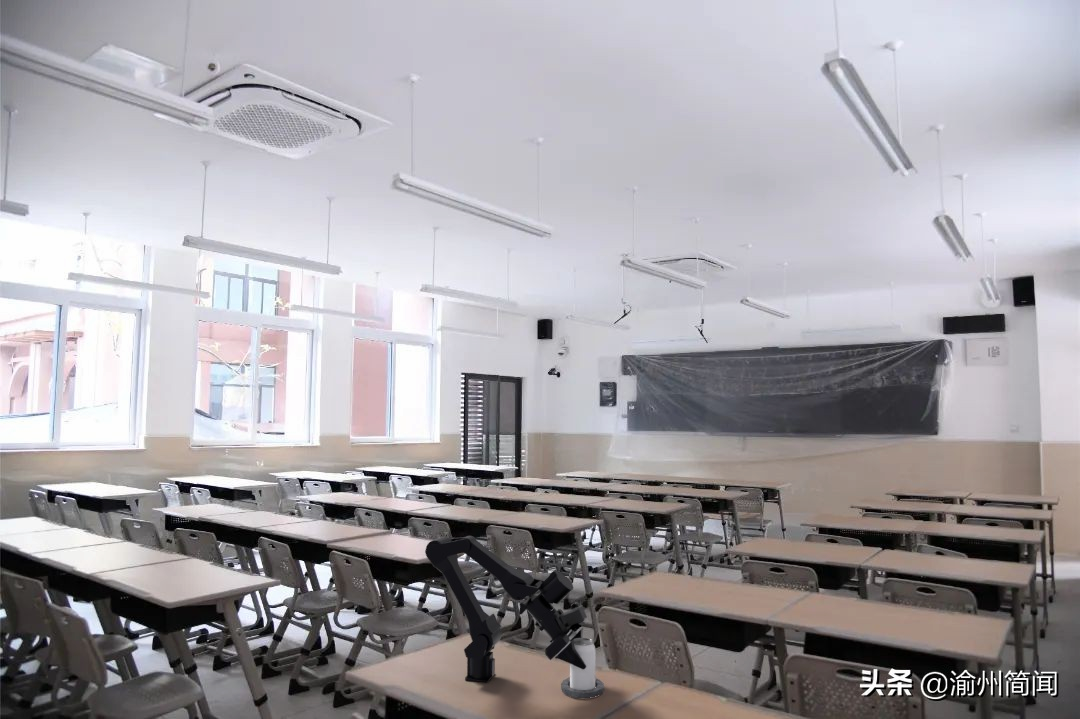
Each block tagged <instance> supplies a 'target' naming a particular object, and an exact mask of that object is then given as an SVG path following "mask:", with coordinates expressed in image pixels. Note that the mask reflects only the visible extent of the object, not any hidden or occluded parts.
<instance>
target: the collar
mask: <svg viewBox="0 0 1080 719" xmlns="http://www.w3.org/2000/svg"><path fill="white" fill-rule="evenodd" d="M569 686H570V676H569V677H568V678H565V679H563V681H562V682H561V684H560V687H561V688H560V689H561V690H562V691H561V692H562V693H563V694H564V695H565V696H567V697H569V696H571V697H570V698H572V697H573V699H578V698H590V697H595V696H598V695H600V696H602V695H603V694H604V690H605V683H603V681H601V679H599V678H596V677H595V687H596V688H593V689H590V690H576V689H573V688H571V687H569ZM601 694H602V695H601ZM574 697H575V698H574ZM598 697H599V696H598ZM590 699H591V698H590Z"/></svg>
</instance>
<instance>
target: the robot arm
mask: <svg viewBox="0 0 1080 719" xmlns="http://www.w3.org/2000/svg"><path fill="white" fill-rule="evenodd" d="M424 554H425V556H426V558H427V559H428V561H429V562H430V563H431V565H432V566H433V568H436V569H437V571H439V572H440V573H442V575H443V576H444V578H445V581H446V582H447V583H448V586H449V589H450V590H451V592H452V593H453V595H454V597H455V599H456V600H457V602H458V603H457V604H459V606H460V608H461V610H462V613H464V616H465V618H466V619H467V623H468V631H469V636H470V639H471V642H470V643H469V644H468V645H467V646H466V647H465V648H464V649H463V651H464V655H465V657H466V659H467V661H466V664H467V665H466V668H467V670H466V671H467V672H466V676H465V677H464V680H465V681H473V682H482V683H483V682H484V683H489V681H491V679H492V678H493V677H494V675H495V674H496V669H495V668H496V658H494V651H493V650H494V649H495V647H496V645H497V644H498V643H499V642H500V641H501V639H502V635H503V634H502V630H501V628H502V625H501V624H500V623H499V622H498V619H497V617H496V615H495V613H492V614H491V615H489V614H488V613H487V612H485V611H484V609H483V608H482V605H481V604H480V602H479V600H478V599H477V597H476V594H475V593H474V590H473V589H472V587H471V585H470V583H469V581H468V580H467V578H466V575H465V574H464V573H463V570H462V569H461V567H460V565H459V560H458V554H466V556H468V557H469V558H470V559H471V560H473V561H474V562H475V563H477V564H478V565H479V566H480V567H482V568H483V569H484V570H486V571H487V572H488V573H490V574H491V576H493V577H495V579H496V580H498V582H499V584H500V585H501V587H502V589H503V590H504V591H505V592H506V593H507V595H509V597H510V598H512V599H513V601H514V600H515V601H520V602H519V615H520V616H521V615H522V614H524V613H525V612H526V611H527V612H528V613H529V614H530V615H531V617H532V618H533V620H535V621H536V622H537V624H538V625H539V626H540V627H539V628H538V629H539V631H540V632H545V633H546V634H547V636H548V637H549V638H550V640H549V644H548V645H547V646H546V647H545V649H544V652H545V654H544V655H545V656H546V657H547V658H548V659H549V660H550V661H552V660H553V659H554V658H555V659H557V660H560V661H563V662H565V663H568V664H569V665H570V664H572V665H574V666H577V667H579V668H581V669H583V670H584V669H585V668H586V665H585V663H584V661H583V660H582V658H581V657H580V655H579V654H578V653H577V651H576V650H575V648H574V639H576V638H584V636H583V635H584V634H583V633H584V627H583V626H584V625H585V619H586V618H587V617H588V616H587V614H586V607H585V606H584V605H583V604H580V603H579V601H575V602H573V603H572V604H571V605H570V609H568V610H567V611H563V609H556V608H555V607H554V605H553V604H556V605H558V604H559V603H561V602H562V601H563V600H564V599H565V598H566V597H567V596H568V595H570V593H571V592H572V591H574V585H573V583H572V581H571V579H570V578H568V576H565V575H564V573H561V572H559V571H558V569H553V571H551V573H550V574H549V575H548V577H547V578H545V579H544V580H543V579H539V578H535V577H533V576H532V575H531V574H530V573H528V572H526V571H524V570H522V569H519V568H518V567H517V568H516V567H514V566H511V565H509V564H508V563H507V562H505V561H504V560H503V559H501V558H500V557H499V556H498V555H496V554H495V553H494V552H492V551H491V549H489V548H487V547H486V546H484V545H483V544H482V543H481V542H480V541H478V540H477V538H475V537H474V536H472V535H467V536H463V537H453V538H450V537H449V536H448V537H447V536H440V537H438V538H435V539H433V540H431V541H428V543H427V545H426V548H425V551H424ZM539 591H540V592H539ZM538 592H539V593H538ZM536 593H538V594H537V595H535V594H536ZM527 597H529V598H528V599H527V600H526V601H523V600H525V599H526V598H527ZM587 619H588V618H587ZM580 628H581V629H580ZM579 629H580V630H579Z"/></svg>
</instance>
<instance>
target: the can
mask: <svg viewBox="0 0 1080 719" xmlns="http://www.w3.org/2000/svg"><path fill="white" fill-rule="evenodd" d="M594 643H595V641H594V640H593V639H591V638H586V637H583V638H576V639H574V648H575V650H576V651H577V653H578V654H579V655H580V657H581V658H582V660H583V661H584V663H585V665H586V668H585V669H584V670H583V669H581V668H579V667H577V666H574V665H572V664H570V663H569V677H570V687H571V688H573V689H576V690H590V689H593V688H595V678H596V646H595V644H594Z"/></svg>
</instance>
